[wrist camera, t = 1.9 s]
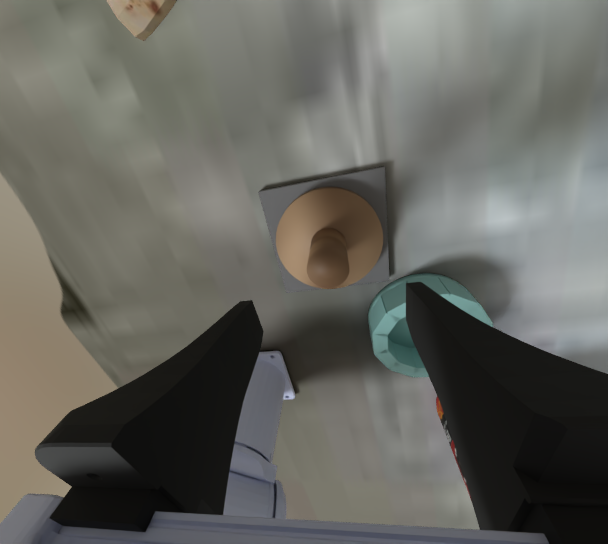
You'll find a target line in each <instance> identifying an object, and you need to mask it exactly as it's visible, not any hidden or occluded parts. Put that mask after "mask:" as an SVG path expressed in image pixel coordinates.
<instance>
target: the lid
mask: <svg viewBox="0 0 608 544" xmlns="http://www.w3.org/2000/svg"><path fill="white" fill-rule="evenodd" d="M382 246H383V231H382V227H381V223H380V221H379V218H378V216H377V215H376V213H375V211H374V210H373V208H372V207H371V205H370V204H369V203H368V202H367V201H366V200H365V199H364V198H363V197H361V196H360V195H358V194H357V193H355V192H353V191H350V190H348V189H344V188H340V187H320V188H316V189H312V190H310V191H308V192H305V193H304V194H302V195H300V196H299V197H298V198H296V199H295V200H294V201H293V202H292V203H291V204H290V205H289V206H288V208H287V209H286V210H285V212H284V214H283V216H282V217H281V219H280V222H279V224H278V227H277V232H276V247H277V252H278V255H279V258H280V260H281V262H282V264H283V265H284V267H285V268H286V269H287V270H288V272H289V273H290V274H291V275H292V276H294V277H295V278H296V279H298V280H299V281H301V282H303V283H305V284H307V285H310V286H313V287H316V288H322V289H336V288H341V287H345V286H348V285H351V284H353V283H355V282H357V281H359V280H360V279H362V278H363V277H364V276H366V275H367V274H368V273H369V272H370V271H371V269H372V268H373V267H374V266H375V264H376V263H377V261H378V259H379V257H380V254H381V251H382Z"/></svg>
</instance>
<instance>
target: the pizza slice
mask: <svg viewBox="0 0 608 544" xmlns="http://www.w3.org/2000/svg"><path fill="white" fill-rule="evenodd" d="M176 1H177V0H107V2H108V3H109V5H110V7H111V8H112V10H113V12H114V14H115V15H116V17H117V18H118V19H119V20H120V21H121V22H122V23H123V24H124V25H125V26H126V27H127V29H128V30H129V31H130V32H131V33H132V34H133V35H134V36H135V37H137V38H139V39H141V40H143V41H145V40H146V39H147V37H148V36H149V35H151V34H152V33H153V31H154V30H155V29H156V28H157V27H158V25H159V24H160V23H161V22H162V20H163V19H164V18H165V17H166V15H167V14H168V13H169V11H170V10H171V9H172V7H173V6H174V4H175V2H176Z"/></svg>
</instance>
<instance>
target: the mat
mask: <svg viewBox="0 0 608 544" xmlns="http://www.w3.org/2000/svg"><path fill="white" fill-rule="evenodd" d="M320 187H340V188H344V189H348V190H350V191H353V192H355V193H357V194H358V195H360V196H361V197H363V198H364V199H365V200H366V201H367V202H368V203H369V204H370V205H371V207H372V208H373V210H374V211H375V213H376V215H377V216H378V218H379V221H380V223H381V227H382V231H383V246H382V251H381V254H380V257H379V259H378V261H377V263H376V264H375V266H374V267H373V268H372V269H371V271H370V272H369V273H368V274H367V275H366V276H364V277H363V278H362V279H360V280H359V281H357V282H355V283H353V284H351V285H359V284H367V283H376V282H385V281H389V257H388V231H387V204H386V177H385V167H384V166H382V167H377V168H372V169H366V170H361V171H356V172H351V173H346V174H341V175H336V176H331V177H326V178H321V179H316V180H311V181H306V182H300V183H295V184H290V185H285V186H280V187H275V188H270V189H265V190H260V191H259V192H258V193H259V196H260V200H261V204H262V207H263V211H264V214H265V218H266V222H267V225H268V229H269V232H270V236H271V239H272V243H273V247H274V250H275V254H276V257H277V261H278V264H279V268H280V272H281V275H282V279H283V282H284V286H285V290H286V293H290V292H298V291H307V290H315V289H322V288H316V287H313V286H310V285H307V284H305V283H303V282H301V281H299V280H298V279H296V278H295V277H294V276H292V275H291V274H290V273H289V272H288V270H287V269H286V268H285V267H284V265H283V264H282V262H281V260H280V258H279V255H278V252H277V247H276V232H277V227H278V224H279V222H280V219H281V217H282V216H283V214H284V212H285V210H286V209H287V208H288V206H289V205H290V204H291V203H292V202H293V201H294V200H295V199H296V198H298V197H299V196H300V195H302V194H304V193H305V192H308V191H310V190H312V189H316V188H320ZM348 286H350V285H348Z"/></svg>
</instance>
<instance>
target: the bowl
mask: <svg viewBox="0 0 608 544" xmlns="http://www.w3.org/2000/svg"><path fill="white" fill-rule="evenodd" d="M412 282H422V283H424V284H425V285H426V286H428V287H429V288H431V289H432V290H433V291H435V292H436V293H438V294H439V295H441V296H442V297H443V298H445V299H446V300H448V301H449V302H451V303H452V304H454V305H455V306H457V307H459V308H460V309H462V310H463V311H465V312H467V313H468V314H470V315H472V316H473V317H475V318H477V319H479V320H480V321H482V322H484V323H486V324H488V325H489V326H491V327H493V323H492V321H491V320H490V318H489V317H488V315H487V314H486V312H485V311H484V309H483V308H482V306H481V305H480V304H479V302H478V301H477V300H476V299H475V298H474V297H473V296H472V295H471V293H470V292H469V291H468V290H467V289H466V288H465V287H464V286H462V285H460V284H459V283H458V282H457V281H455V280H453V279H451V278H449V277H447V276H443V275H439V274H433V273H421V274H414V275H409V276H406V277H403V278H400V279H398V280H396V281H394V282H392V283H390V284H389V285H387V286H386V287H384V288H383V289H382V290H381V291H380V292H379V293H378V294H377V295H376V297H375V298H374V299H373V301H372V303H371V305H370V308H369V312H368V322H369V329H370V337H371V342H372V347H373V352H374V355H375V356H376V357H377V358H378V359H379V360H380V361H381V362H382V363H383V364H384V365H385V366H386V367H387V368H388V369H390V370H391V371H394V372H398V373H401V374H404V375H407V376H410V377H413V376H414V377H429V375H428V373H427V371H426V369H425V367H424V364H423V362H422V360H421V358H420V356H419V354H418V351H417V349H416V347H415V345H414V343H413V340H412V338H411V335H410V332H409V328H408V325H407V322H406V283H412Z"/></svg>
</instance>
